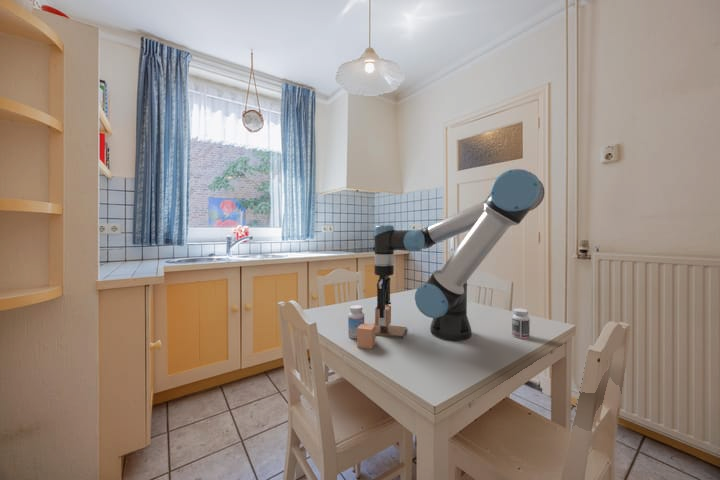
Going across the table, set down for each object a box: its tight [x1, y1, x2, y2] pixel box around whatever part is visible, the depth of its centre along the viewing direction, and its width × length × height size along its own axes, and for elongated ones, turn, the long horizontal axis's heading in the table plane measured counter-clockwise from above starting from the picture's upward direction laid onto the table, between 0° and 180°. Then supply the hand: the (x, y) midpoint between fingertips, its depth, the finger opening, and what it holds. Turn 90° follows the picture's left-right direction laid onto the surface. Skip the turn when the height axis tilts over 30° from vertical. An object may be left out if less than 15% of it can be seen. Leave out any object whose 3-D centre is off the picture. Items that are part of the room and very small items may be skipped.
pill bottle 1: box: [347, 304, 365, 340], centre depth 109 cm, size 6×6×11 cm
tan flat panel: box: [372, 323, 407, 339], centre depth 114 cm, size 14×10×6 cm
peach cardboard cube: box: [356, 323, 377, 350], centre depth 100 cm, size 5×5×7 cm
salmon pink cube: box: [374, 305, 392, 326], centre depth 114 cm, size 5×5×7 cm
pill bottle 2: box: [511, 307, 531, 340], centre depth 107 cm, size 6×6×10 cm
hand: (383, 322), depth 114 cm, fingers closed on salmon pink cube, 5 cm apart
